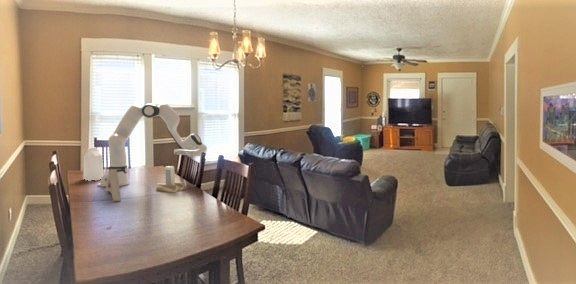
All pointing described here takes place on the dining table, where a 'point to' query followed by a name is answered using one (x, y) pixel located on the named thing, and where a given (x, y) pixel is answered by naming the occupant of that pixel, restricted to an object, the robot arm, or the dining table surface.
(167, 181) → the white grey box
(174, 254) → the dining table surface
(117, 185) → the wall bracket
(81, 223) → the dining table surface
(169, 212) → the dining table surface
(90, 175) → the milk
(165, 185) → the stand
